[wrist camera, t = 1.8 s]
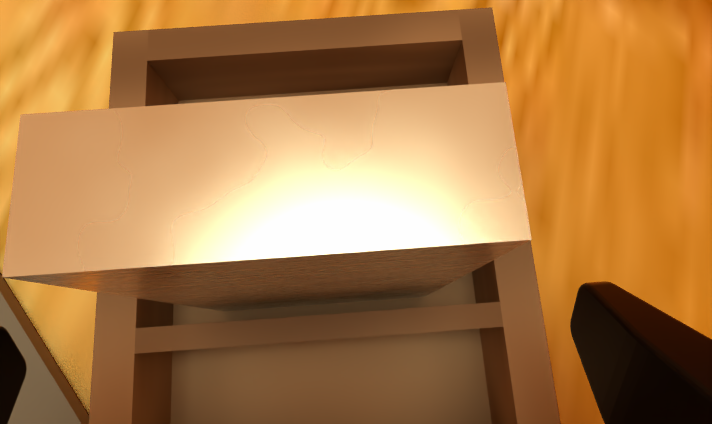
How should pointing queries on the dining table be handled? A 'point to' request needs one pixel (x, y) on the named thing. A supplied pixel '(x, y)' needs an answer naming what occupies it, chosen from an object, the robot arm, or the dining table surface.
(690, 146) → the dining table surface
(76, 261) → the wooden block
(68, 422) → the rubber mat
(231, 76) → the slot box
